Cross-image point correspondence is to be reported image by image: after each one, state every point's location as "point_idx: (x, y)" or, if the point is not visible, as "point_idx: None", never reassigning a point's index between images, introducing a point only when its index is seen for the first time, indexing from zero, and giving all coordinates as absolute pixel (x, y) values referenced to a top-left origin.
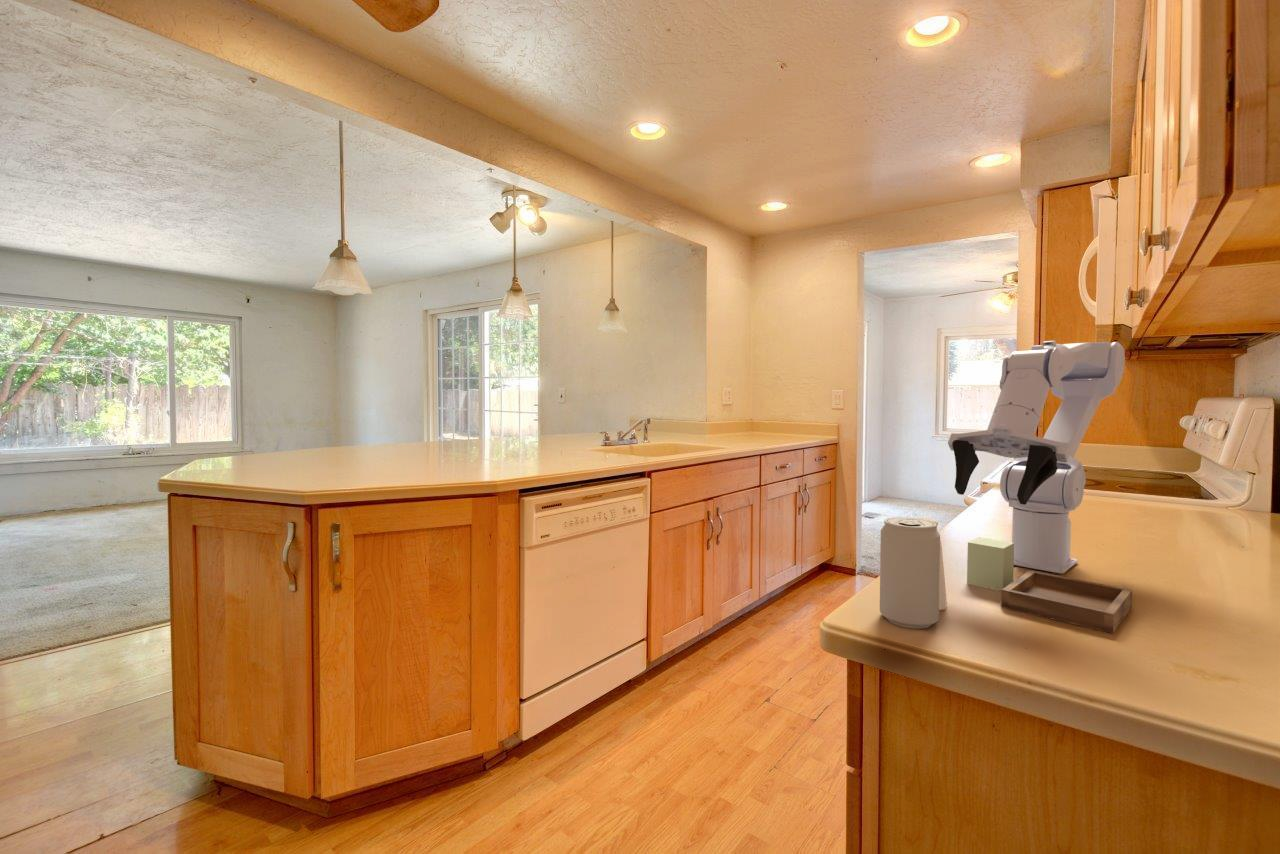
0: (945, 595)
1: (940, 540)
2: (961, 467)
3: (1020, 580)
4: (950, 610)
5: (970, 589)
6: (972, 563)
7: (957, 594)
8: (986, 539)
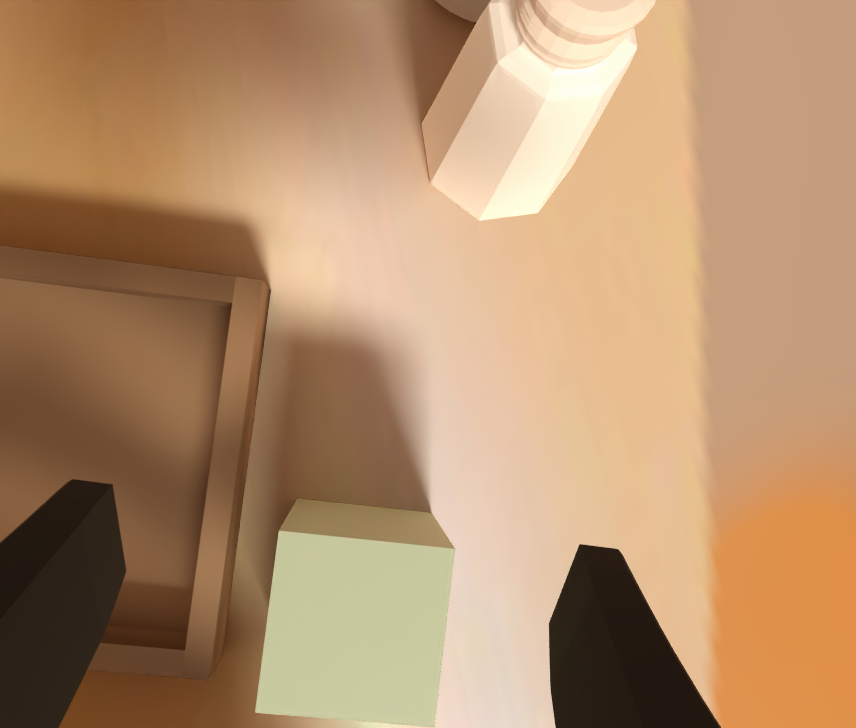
0: (434, 148)
1: (496, 52)
2: (660, 713)
3: (220, 474)
4: (406, 135)
5: (403, 438)
6: (419, 525)
7: (428, 338)
8: (390, 695)
